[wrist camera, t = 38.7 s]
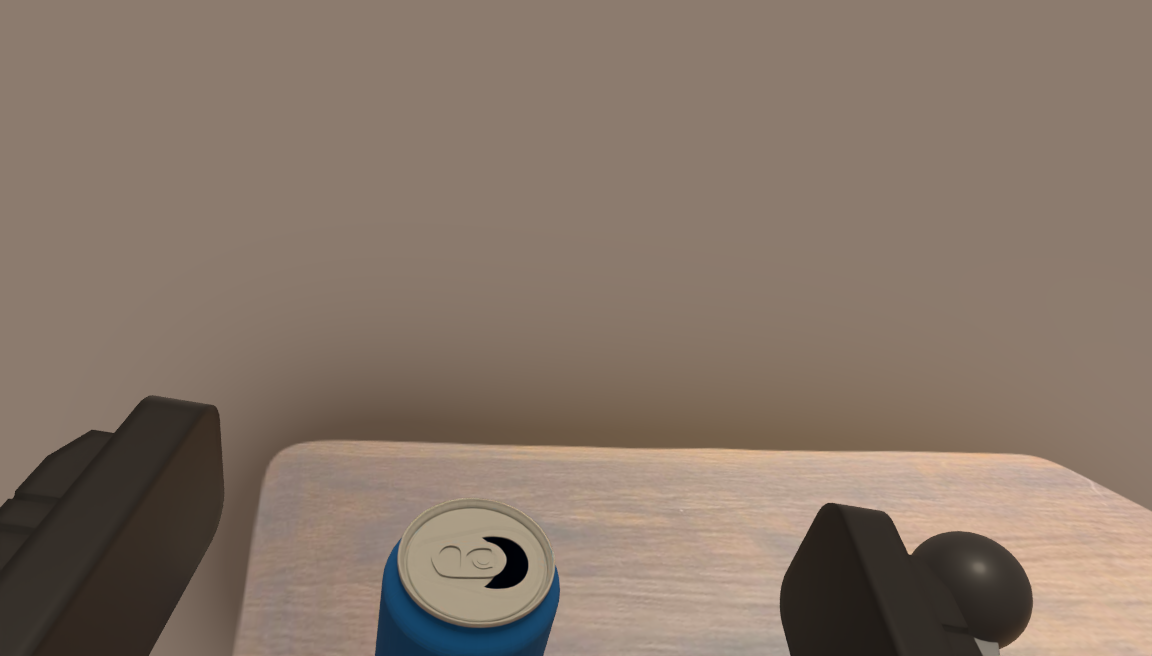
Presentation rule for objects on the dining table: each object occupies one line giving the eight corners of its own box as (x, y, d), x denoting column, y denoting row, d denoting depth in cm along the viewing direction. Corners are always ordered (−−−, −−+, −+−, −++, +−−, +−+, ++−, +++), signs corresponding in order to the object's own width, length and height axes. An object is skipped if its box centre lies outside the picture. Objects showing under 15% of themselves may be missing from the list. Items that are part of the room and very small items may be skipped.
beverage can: (519, 812, 31) (578, 636, 24) (359, 821, 29) (377, 636, 23) (510, 667, 36) (556, 493, 30) (373, 669, 35) (391, 485, 28)
